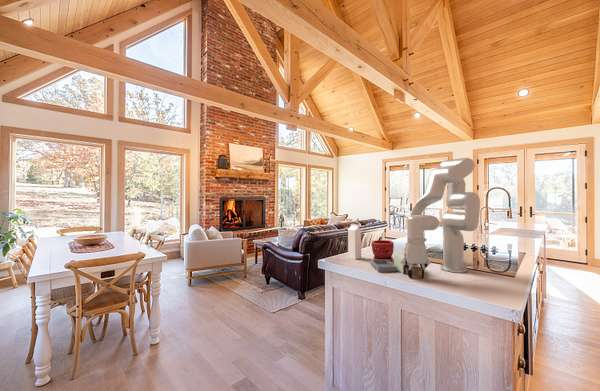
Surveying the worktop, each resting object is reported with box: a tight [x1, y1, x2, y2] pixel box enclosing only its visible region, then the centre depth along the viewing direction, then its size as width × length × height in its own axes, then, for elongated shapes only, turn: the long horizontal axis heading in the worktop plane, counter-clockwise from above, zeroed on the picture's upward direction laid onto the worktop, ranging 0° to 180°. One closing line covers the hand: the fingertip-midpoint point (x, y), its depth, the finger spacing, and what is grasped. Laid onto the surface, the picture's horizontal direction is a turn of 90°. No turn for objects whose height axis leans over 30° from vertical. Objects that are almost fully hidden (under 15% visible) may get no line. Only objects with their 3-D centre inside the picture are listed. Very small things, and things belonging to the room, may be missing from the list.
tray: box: [370, 259, 398, 273], centre depth 147 cm, size 10×15×3 cm, turn 0°
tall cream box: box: [393, 252, 419, 275], centre depth 142 cm, size 8×12×8 cm
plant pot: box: [371, 239, 395, 262], centre depth 163 cm, size 13×13×12 cm
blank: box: [404, 263, 423, 280], centre depth 133 cm, size 5×10×5 cm, turn 0°
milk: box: [347, 223, 362, 260], centre depth 169 cm, size 6×6×22 cm
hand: (415, 276), depth 130 cm, fingers closed on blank, 5 cm apart
